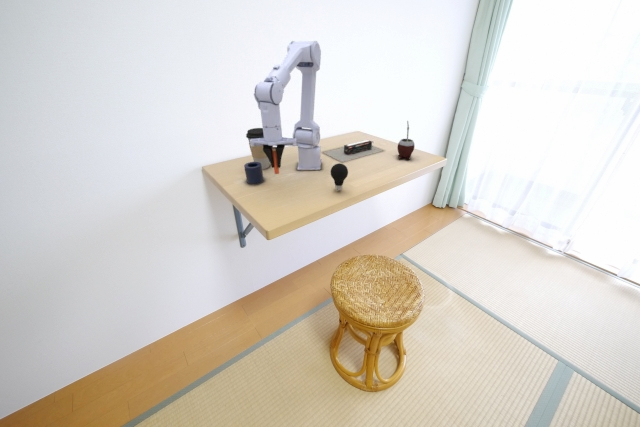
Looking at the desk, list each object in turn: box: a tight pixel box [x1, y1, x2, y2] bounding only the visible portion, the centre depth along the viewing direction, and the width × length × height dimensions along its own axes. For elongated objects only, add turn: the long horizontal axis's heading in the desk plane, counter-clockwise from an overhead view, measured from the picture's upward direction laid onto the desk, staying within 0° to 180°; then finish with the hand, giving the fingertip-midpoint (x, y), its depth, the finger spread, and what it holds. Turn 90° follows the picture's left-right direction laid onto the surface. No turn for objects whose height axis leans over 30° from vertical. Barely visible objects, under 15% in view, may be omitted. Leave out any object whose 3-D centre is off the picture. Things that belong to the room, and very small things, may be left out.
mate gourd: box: [396, 120, 415, 161], centre depth 113 cm, size 8×8×15 cm
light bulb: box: [330, 162, 349, 192], centre depth 88 cm, size 6×6×10 cm
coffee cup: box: [245, 127, 271, 170], centre depth 105 cm, size 9×9×15 cm
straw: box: [272, 146, 280, 175], centre depth 86 cm, size 2×2×9 cm
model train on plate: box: [323, 139, 383, 163], centre depth 123 cm, size 14×25×4 cm, turn 124°
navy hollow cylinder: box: [243, 161, 265, 186], centre depth 96 cm, size 6×6×6 cm
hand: (276, 166), depth 87 cm, fingers closed on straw, 1 cm apart
